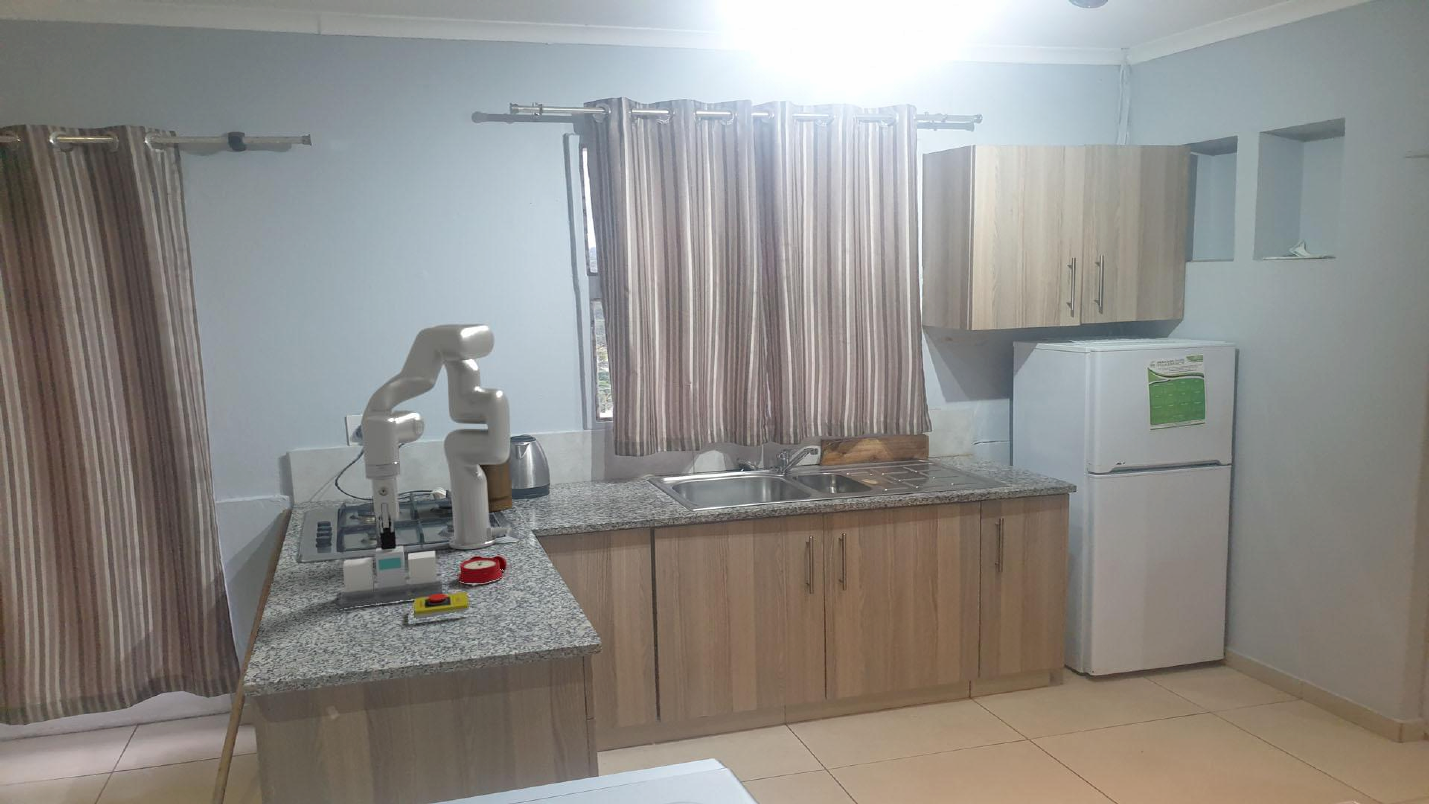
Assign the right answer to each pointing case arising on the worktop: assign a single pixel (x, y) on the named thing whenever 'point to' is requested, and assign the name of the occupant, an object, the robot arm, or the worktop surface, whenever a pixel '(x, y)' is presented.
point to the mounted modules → (362, 576)
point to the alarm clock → (482, 569)
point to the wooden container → (498, 486)
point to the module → (390, 567)
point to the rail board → (390, 593)
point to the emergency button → (440, 605)
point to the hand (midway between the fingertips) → (388, 548)
